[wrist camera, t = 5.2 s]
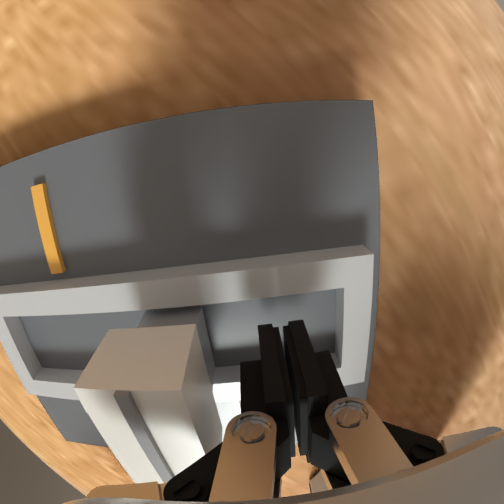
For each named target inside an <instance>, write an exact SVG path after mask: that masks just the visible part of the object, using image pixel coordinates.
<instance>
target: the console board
mask: <svg viewBox="0 0 504 504" xmlns="http://www.w3.org/2000/svg"><path fill="white" fill-rule="evenodd" d="M379 264H380V189H379V167H378V151H377V138H376V127H375V117H374V108H373V100H319V101H295V102H279V103H267V104H256V105H246V106H237V107H229V108H221V109H214V110H207V111H200V112H194V113H188V114H182V115H177V116H171V117H166V118H161V119H156V120H151V121H146V122H142V123H137V124H133V125H129V126H124V127H120V128H116V129H112V130H109V131H105V132H101V133H97V134H94V135H90V136H87V137H83V138H80V139H77V140H73V141H70V142H67V143H64V144H61V145H58V146H54V147H51V148H49V149H46V150H43V151H40V152H37V153H34V154H32V155H29V156H26V157H24V158H21V159H18V160H16V161H13V162H11V163H8V164H6V165H3V166H1V167H0V341H1V344H2V346H3V348H4V350H5V352H6V354H7V356H8V358H9V360H10V362H11V364H12V366H13V368H14V369H15V371H16V373H17V375H18V377H19V379H20V380H21V382H22V384H23V386H24V387H25V389H26V391H27V392H28V394H32V395H37V397H38V399H39V400H40V402H41V404H42V405H43V407H44V408H45V410H46V412H47V413H48V415H49V416H50V418H51V419H52V421H53V422H54V424H55V425H56V427H57V428H58V430H59V431H60V432H61V434H62V435H63V437H64V438H65V439H66V441H71V442H77V443H83V444H89V445H96V446H104V447H109V446H108V445H107V443H106V442H105V440H104V439H103V437H102V435H101V434H100V432H99V431H98V429H97V428H96V426H95V424H94V423H93V421H92V419H91V418H90V416H89V414H88V413H87V411H86V409H85V408H84V406H83V404H82V402H81V401H80V399H79V397H78V395H77V393H76V391H75V390H74V386H75V384H76V383H77V381H78V379H79V378H80V376H81V374H82V372H83V371H84V369H85V367H86V366H87V364H88V362H89V361H90V359H91V358H92V356H93V354H94V353H95V351H96V349H97V348H98V346H99V345H100V343H101V341H102V340H103V338H104V337H105V335H106V333H107V332H108V330H109V329H126V328H137V326H138V324H139V323H140V321H141V319H142V317H143V315H144V313H145V311H146V310H150V309H162V308H174V307H185V306H196V305H202V309H203V313H204V318H205V323H206V328H207V332H208V337H209V341H210V346H211V350H212V355H213V359H214V364H215V372H214V382H213V395H214V399H215V403H216V406H217V410H218V413H219V417H220V420H221V424H222V442H223V439H224V434H225V430H226V427H227V425H228V422H229V421H230V420H231V419H232V418H233V417H235V416H237V415H238V414H241V395H240V362H243V361H253V360H261V355H260V345H259V336H258V326H257V325H263V324H272V326H273V327H279V332H280V337H281V341H282V346H283V351H284V338H283V326H287V325H288V321H295V320H303V321H304V324H305V326H306V329H307V332H308V335H309V338H310V341H311V344H312V347H313V349H314V352H321V351H327V350H328V351H329V352H330V354H331V356H332V359H333V361H334V364H335V366H336V369H337V371H338V374H339V376H340V378H341V381H342V383H343V386H344V388H345V391H346V393H347V396H348V397H356V398H360V399H363V400H364V401H366V398H367V391H368V385H369V378H370V371H371V363H372V355H373V347H374V337H375V327H376V316H377V302H378V286H379ZM284 356H285V352H284ZM295 444H298V442H297V436H296V431H295Z"/></svg>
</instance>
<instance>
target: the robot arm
mask: <svg viewBox="0 0 504 504" xmlns="http://www.w3.org/2000/svg"><path fill="white" fill-rule="evenodd" d="M257 326H258V336H259V345H260V355H261V360H253V361H243V362H240V395H241V414H238V415H237V416H235V417H233V418H232V419H231V420H230V421H229V422H228V425H227V427H226V430H225V434H224V439H223V442H221V443H220V444H219V445H217V446H216V447H215V448H213V449H212V450H211V451H209V452H208V453H207V454H205V455H204V456H203V457H201V458H200V459H198V460H197V461H196V462H194V463H193V464H191V465H190V466H189V467H187V468H186V469H184V470H183V471H181V472H180V473H179V474H177V475H176V476H174V477H173V478H171V479H170V480H169V481H168V482H167V483H162V484H159V483H158V481H155V482H146V483H136V484H124V485H106V486H99V487H96V488H94V489H93V490H91V491H90V493H89V494H88V495H87V498H85V499H79V500H74V501H70V502H66V503H63V504H504V430H502V429H501V428H498V427H486V428H482V429H478V430H474V431H469V432H465V433H460V434H455V435H450V436H444V437H443V438H442V440H438V441H437V440H436V439H434V438H431V437H429V436H425V435H422V434H419V433H416V432H413V431H410V430H407V429H404V428H401V427H398V426H395V425H392V424H389V423H386V422H383V421H381V419H380V418H379V416H378V415H377V414H376V412H375V411H374V409H373V408H372V406H371V405H370V404H369V403H368V402H366V401H364V400H363V399H360V398H356V397H348V396H347V393H346V391H345V388H344V386H343V383H342V381H341V378H340V376H339V374H338V371H337V369H336V366H335V364H334V361H333V359H332V356H331V354H330V352H329V351H328V350H327V351H321V352H314V349H313V347H312V344H311V341H310V338H309V335H308V332H307V329H306V326H305V324H304V321H303V320H295V321H288V325H287V326H283V338H284V351H283V346H282V341H281V337H280V332H279V327H273V326H272V324H263V325H257ZM284 352H285V356H284ZM295 431H296V436H297V442H298V447H299V452H300V456H301V455H306V457H307V462H308V463H310V462H311V464H312V465H314V466H316V467H318V468H320V470H321V474H322V477H323V479H324V481H325V483H326V486H327V488H328V490H326V491H321V492H315V493H309V494H303V495H296V496H289V497H281V498H280V496H281V483H282V479H281V476H282V475H284V474H285V473H286V472H287V471H288V470H289V469H290V468H291V457H295Z"/></svg>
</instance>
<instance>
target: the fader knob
mask: <svg viewBox="0 0 504 504" xmlns="http://www.w3.org/2000/svg"><path fill="white" fill-rule="evenodd" d="M214 372H215V364H214V359H213V355H212V350H211V346H210V341H209V337H208V332H207V328H206V323H205V318H204V313H203V309H202V305H196V306H185V307H174V308H162V309H150V310H146V311H145V313H144V315H143V317H142V319H141V321H140V323H139V324H138V326H137V328H126V329H109V330H108V332H107V333H106V335H105V337H104V338H103V340H102V341H101V343H100V345H99V346H98V348H97V349H96V351H95V353H94V354H93V356H92V358H91V359H90V361H89V362H88V364H87V366H86V367H85V369H84V371H83V372H82V374H81V376H80V378H79V379H78V381H77V383H76V384H75V386H74V390H75V391H76V393H77V395H78V397H79V399H80V401H81V402H82V404H83V406H84V408H85V409H86V411H87V413H88V414H89V416H90V418H91V419H92V421H93V423H94V424H95V426H96V428H97V429H98V431H99V432H100V434H101V435H102V437H103V439H104V440H105V442H106V443H107V445H108V446H109V448H110V449H111V451H112V452H113V453H114V455H115V456H116V458H117V459H118V461H119V462H120V463H121V465H122V466H123V467H124V469H125V470H126V471H127V473H128V474H129V475H130V477H131V478H132V479H133V481H134V482H135V483H146V482H155V481H158V483H159V484H162V483H167V482H168V481H169V480H170V479H171V478H173V477H174V476H176V475H177V474H179V473H180V472H181V471H183V470H184V469H186V468H187V467H189V466H190V465H191V464H193V463H194V462H196V461H197V460H198V459H200V458H201V457H203V456H204V455H205V454H207V453H208V452H209V451H211V450H212V449H213V448H215V447H216V446H217V445H219V444H220V443H221V442H222V424H221V420H220V417H219V413H218V410H217V406H216V403H215V399H214V395H213V382H214Z"/></svg>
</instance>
